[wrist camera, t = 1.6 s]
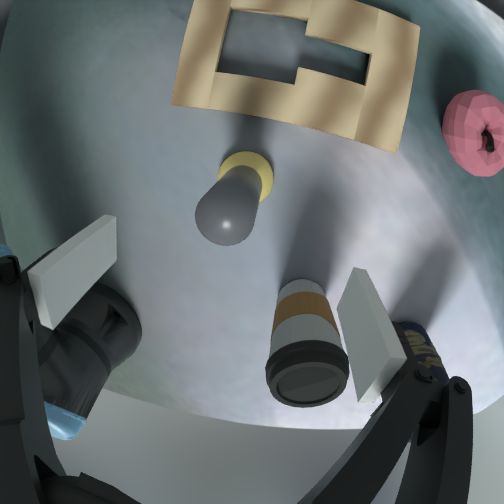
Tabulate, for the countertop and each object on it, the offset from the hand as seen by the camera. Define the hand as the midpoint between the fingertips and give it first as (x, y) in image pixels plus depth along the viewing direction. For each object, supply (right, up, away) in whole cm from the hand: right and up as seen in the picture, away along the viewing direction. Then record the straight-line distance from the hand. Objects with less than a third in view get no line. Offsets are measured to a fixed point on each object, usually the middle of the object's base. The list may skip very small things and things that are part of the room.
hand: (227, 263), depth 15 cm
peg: (+1, +9, +17) cm, 19 cm away
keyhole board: (+6, +21, +10) cm, 24 cm away
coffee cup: (+8, -5, +23) cm, 25 cm away
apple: (+26, +16, +11) cm, 32 cm away
